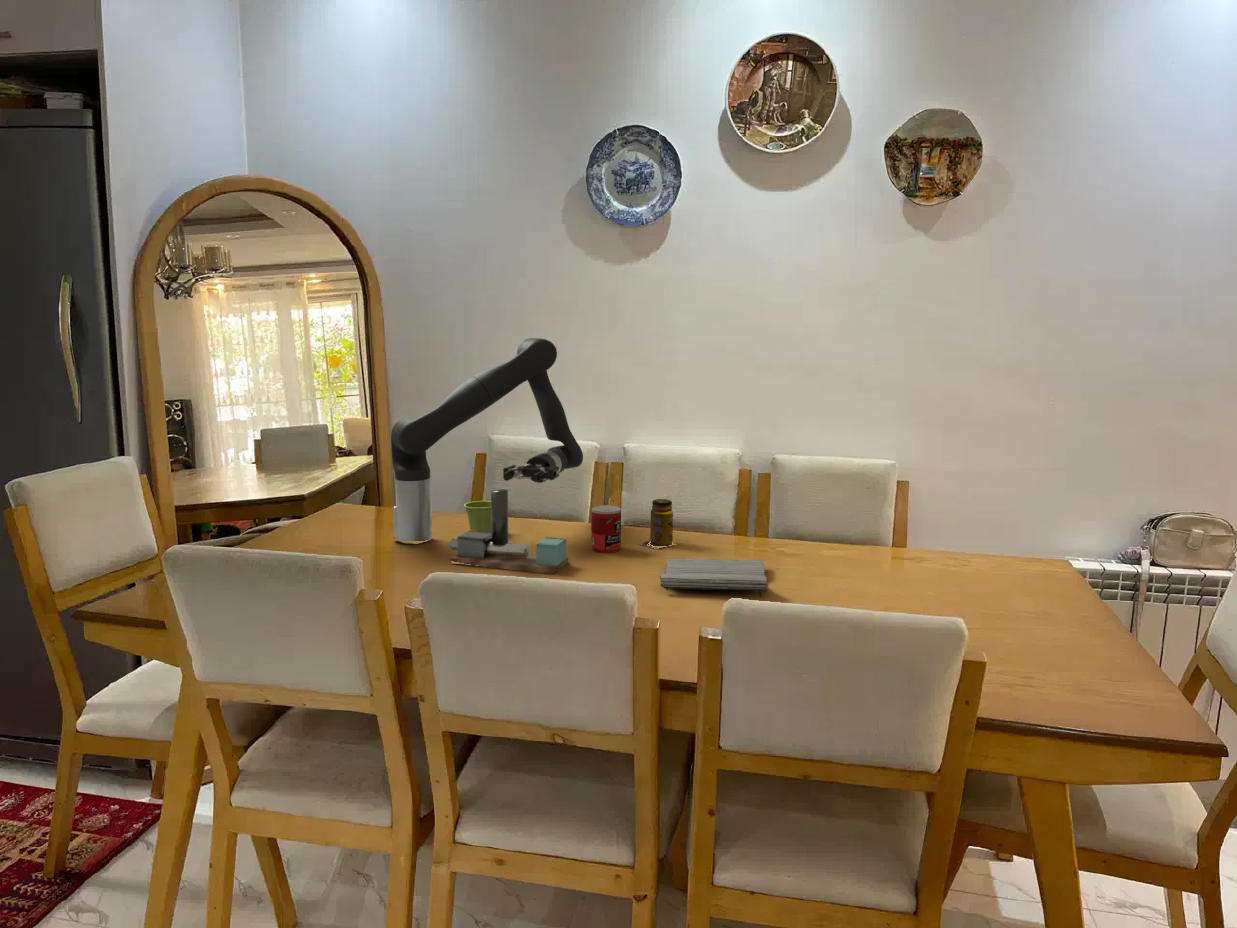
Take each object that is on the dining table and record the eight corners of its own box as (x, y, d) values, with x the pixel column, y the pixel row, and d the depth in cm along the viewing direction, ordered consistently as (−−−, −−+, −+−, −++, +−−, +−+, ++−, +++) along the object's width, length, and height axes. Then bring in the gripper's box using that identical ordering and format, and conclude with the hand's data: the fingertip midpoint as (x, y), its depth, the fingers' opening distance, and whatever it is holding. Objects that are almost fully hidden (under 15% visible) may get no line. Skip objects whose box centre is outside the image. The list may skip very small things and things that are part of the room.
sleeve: (457, 556, 202) (457, 536, 202) (469, 549, 208) (469, 530, 208) (483, 558, 200) (483, 539, 200) (494, 552, 206) (494, 532, 206)
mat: (763, 570, 200) (764, 551, 199) (766, 602, 177) (767, 580, 176) (668, 565, 203) (668, 547, 202) (659, 596, 180) (659, 575, 179)
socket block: (536, 564, 196) (536, 543, 195) (547, 556, 203) (546, 537, 202) (556, 566, 195) (555, 545, 194) (566, 558, 201) (566, 538, 200)
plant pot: (458, 537, 227) (457, 506, 226) (474, 529, 236) (473, 499, 235) (489, 539, 225) (488, 508, 223) (503, 531, 233) (503, 501, 232)
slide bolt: (449, 552, 204) (447, 488, 202) (456, 548, 208) (455, 486, 206) (523, 559, 199) (522, 494, 196) (529, 555, 202) (529, 491, 200)
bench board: (450, 563, 201) (450, 557, 201) (469, 553, 211) (469, 547, 210) (553, 574, 194) (553, 567, 193) (568, 562, 203) (568, 556, 203)
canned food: (609, 554, 210) (609, 513, 209) (585, 549, 215) (585, 508, 213) (626, 548, 216) (627, 507, 215) (603, 543, 221) (603, 503, 219)
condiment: (679, 544, 221) (680, 500, 219) (657, 550, 215) (658, 505, 213) (659, 539, 226) (660, 496, 224) (638, 544, 221) (638, 501, 219)
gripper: (519, 452, 228) (494, 462, 213) (567, 454, 224) (545, 464, 209) (520, 478, 229) (495, 490, 214) (568, 481, 225) (546, 493, 210)
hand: (520, 477), depth 211 cm, fingers open, 8 cm apart
